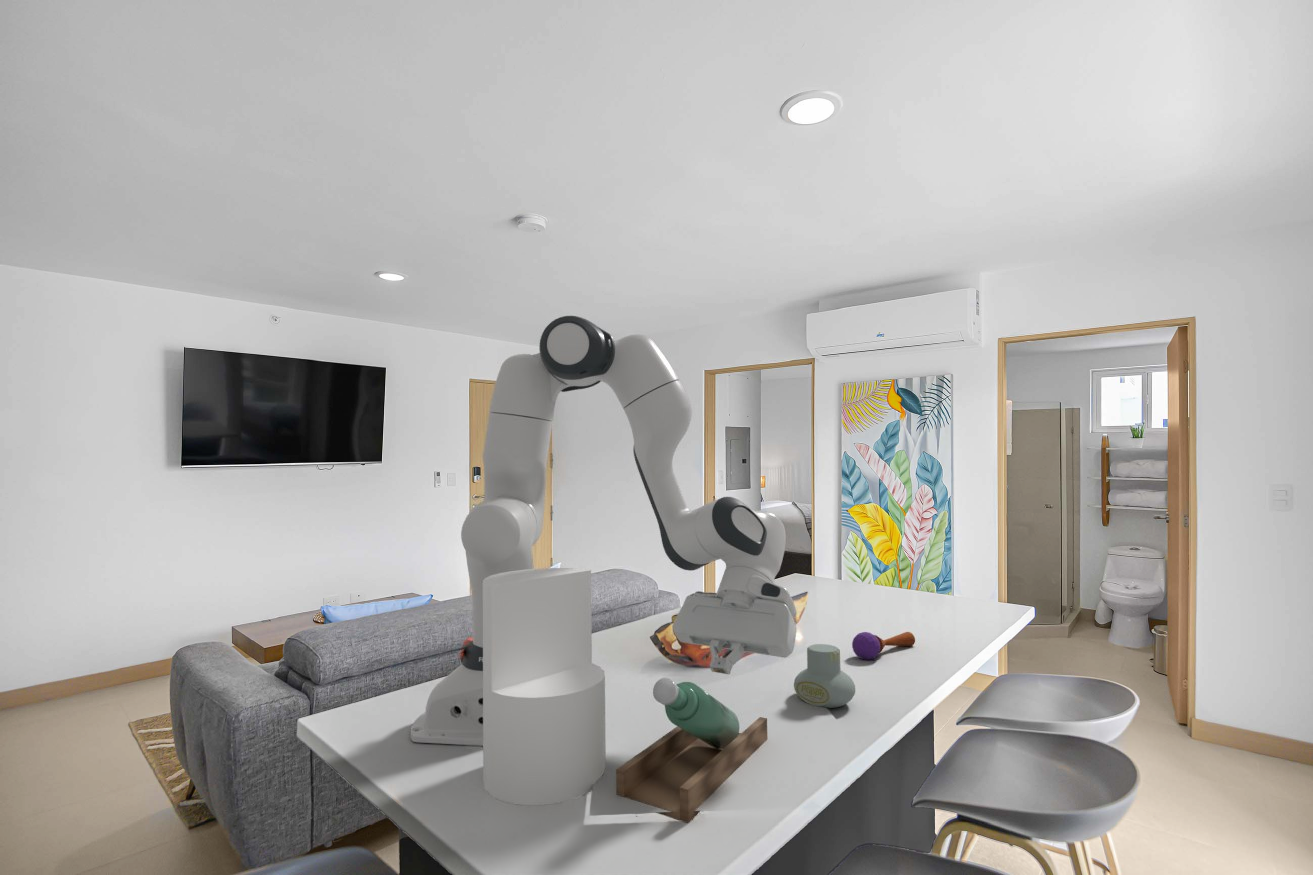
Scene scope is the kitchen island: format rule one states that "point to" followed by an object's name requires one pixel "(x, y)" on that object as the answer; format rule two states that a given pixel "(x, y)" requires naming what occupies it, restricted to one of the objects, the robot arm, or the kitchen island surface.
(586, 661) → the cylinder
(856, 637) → the purple maraca
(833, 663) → the air freshener
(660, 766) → the u rest
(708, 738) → the bottle
